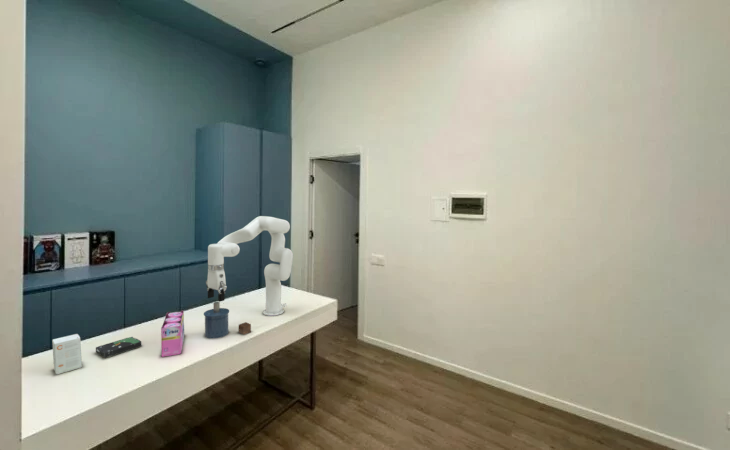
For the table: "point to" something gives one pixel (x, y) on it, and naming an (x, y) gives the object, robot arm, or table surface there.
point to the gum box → (172, 333)
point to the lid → (216, 311)
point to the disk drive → (118, 347)
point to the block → (244, 328)
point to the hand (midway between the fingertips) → (216, 299)
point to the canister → (216, 326)
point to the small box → (67, 353)
